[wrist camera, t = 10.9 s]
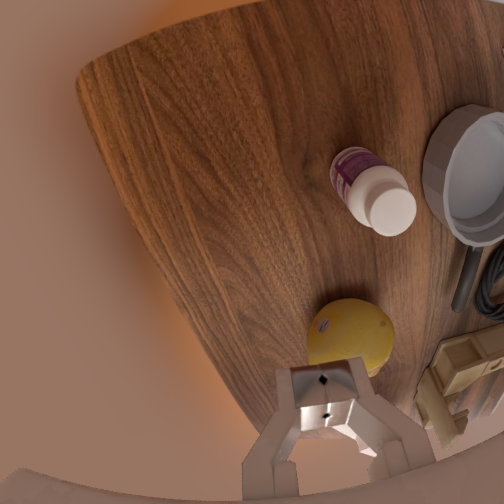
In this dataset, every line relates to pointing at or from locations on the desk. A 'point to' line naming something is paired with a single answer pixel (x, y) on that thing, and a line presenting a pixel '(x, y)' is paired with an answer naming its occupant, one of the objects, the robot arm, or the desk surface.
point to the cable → (496, 270)
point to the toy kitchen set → (456, 379)
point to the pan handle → (466, 278)
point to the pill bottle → (373, 191)
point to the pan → (467, 174)
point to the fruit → (351, 334)
